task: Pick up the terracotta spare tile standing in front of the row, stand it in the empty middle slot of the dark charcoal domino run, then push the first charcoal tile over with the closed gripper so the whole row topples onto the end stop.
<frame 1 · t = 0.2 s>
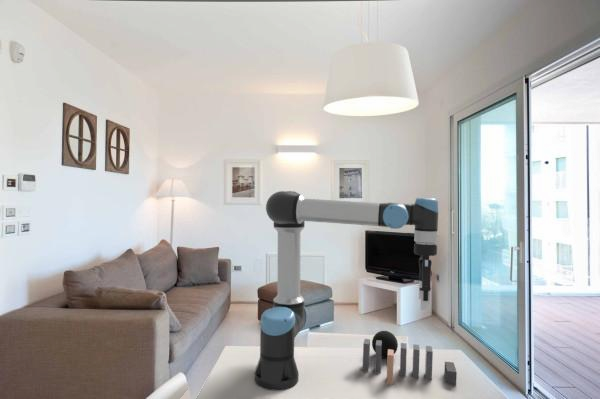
hand: (423, 304, 136), 27 cm above the table, fingers open, 13 cm apart
domino 1: (366, 368, 146), on the table
black ball: (384, 356, 157), on the table
end stop: (450, 379, 139), on the table
domino 2: (378, 369, 145), on the table
domino 5: (415, 374, 142), on the table
domino 4: (402, 373, 143), on the table
domino 6: (428, 376, 141), on the table
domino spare: (389, 380, 137), on the table
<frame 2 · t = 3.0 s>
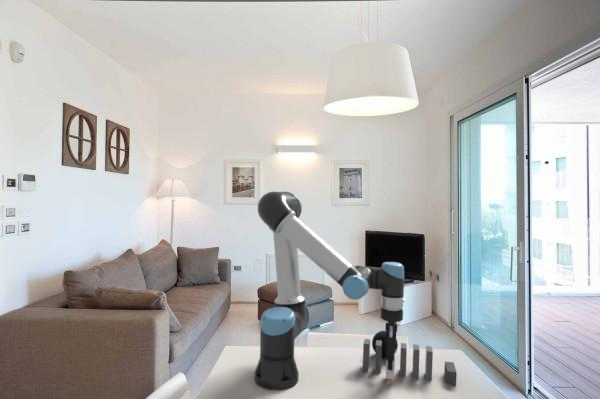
hand: (390, 374, 137), 2 cm above the table, fingers closed on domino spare, 5 cm apart
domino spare: (389, 380, 137), on the table, touching gripper
everything else where it was.
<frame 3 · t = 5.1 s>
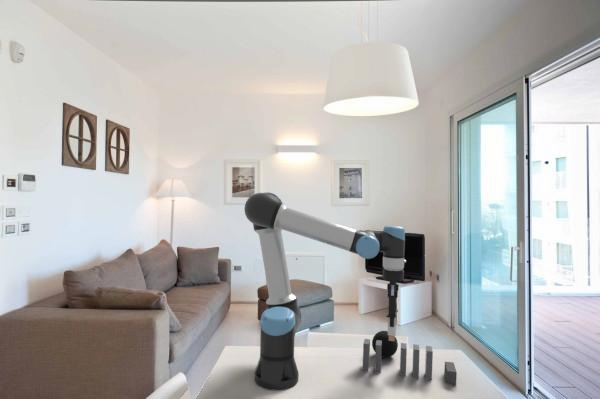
hand: (391, 332, 144), 14 cm above the table, fingers closed on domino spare, 5 cm apart
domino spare: (391, 338, 144), point 12 cm above the table, touching gripper
everything else where it was.
when the fingers open (3 cm above the table, at t = 7.2 s): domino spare drops 1 cm, on the table.
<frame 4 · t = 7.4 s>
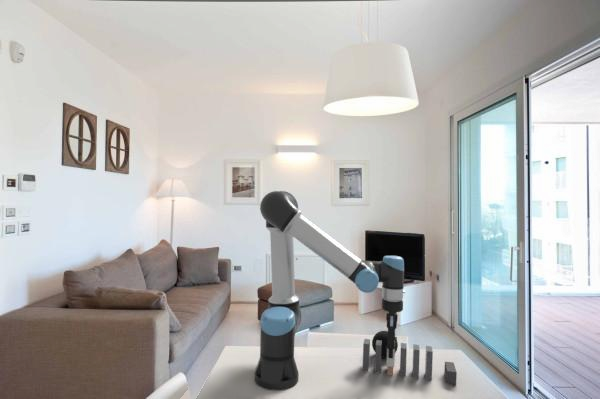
hand: (390, 361, 144), 4 cm above the table, fingers open, 7 cm apart
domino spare: (390, 371, 144), on the table
everything else where it was.
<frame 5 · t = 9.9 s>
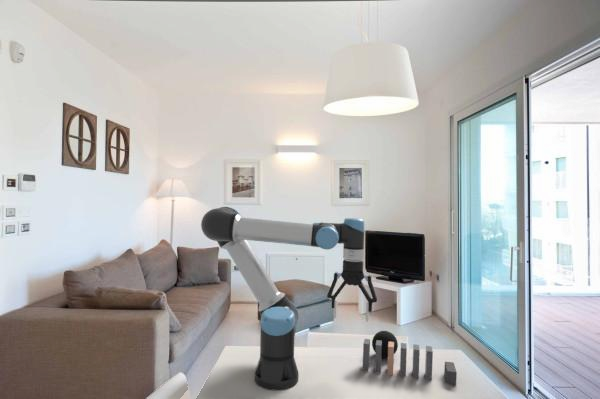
hand: (351, 318, 147), 18 cm above the table, fingers open, 11 cm apart
nothing on the table moved.
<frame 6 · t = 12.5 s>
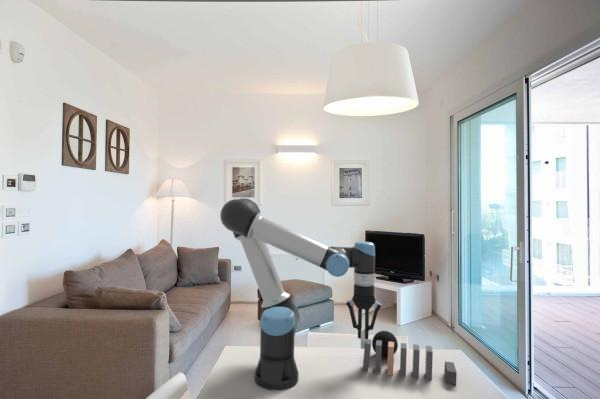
hand: (362, 347, 146), 8 cm above the table, fingers closed
domino 1: (366, 368, 146), on the table, touching gripper
everything else where it was.
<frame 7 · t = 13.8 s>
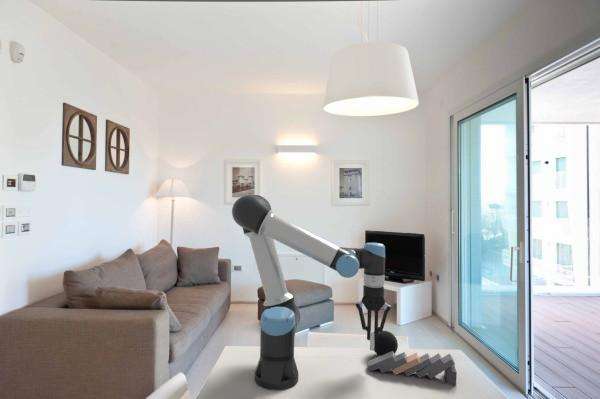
hand: (372, 348, 145), 7 cm above the table, fingers closed
domino 1: (369, 366, 146), point 1 cm above the table, tilted 61°, touching domino 2
domino 2: (381, 367, 145), point 1 cm above the table, tilted 60°, touching domino 1, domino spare
domino 5: (417, 372, 142), point 1 cm above the table, tilted 52°, touching domino 4, domino 6
domino 4: (405, 371, 143), point 1 cm above the table, tilted 55°, touching domino 5, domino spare
domino 6: (428, 373, 141), point 1 cm above the table, tilted 51°, touching domino 5, end stop
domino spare: (393, 369, 144), point 1 cm above the table, tilted 58°, touching domino 2, domino 4
everything else where it was.
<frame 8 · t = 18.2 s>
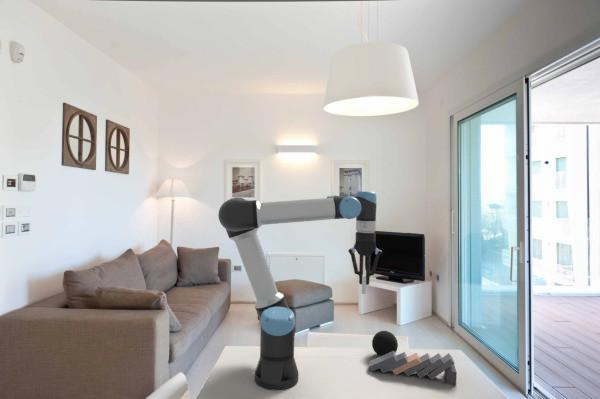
hand: (364, 292, 152), 26 cm above the table, fingers closed
domino 6: (429, 374, 141), point 1 cm above the table, tilted 47°, touching domino 5, end stop
everything else where it was.
at the end: domino 6 tilted 47°; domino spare tilted 57°; the gripper is holding nothing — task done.
